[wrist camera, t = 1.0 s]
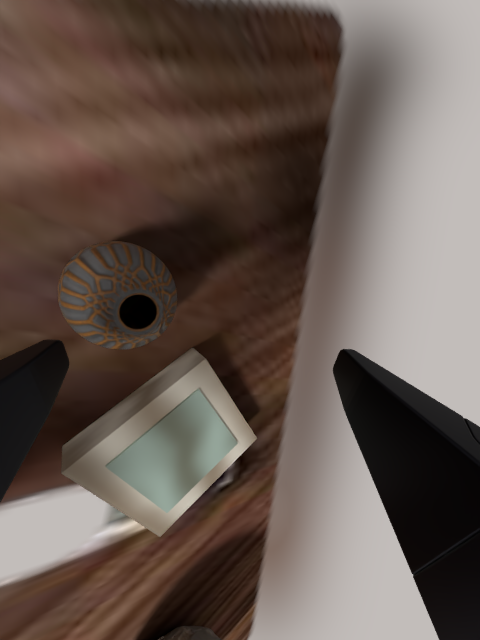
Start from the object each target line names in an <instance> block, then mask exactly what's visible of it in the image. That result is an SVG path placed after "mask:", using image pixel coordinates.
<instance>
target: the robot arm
mask: <svg viewBox="0 0 480 640" xmlns="http://www.w3.org/2000/svg"><path fill="white" fill-rule="evenodd" d="M68 368H69V359H68V356H67V353H66V350H65V347H64V344H63V342H62V341H60V340H43V341H41V342H39V343H37V344H35V345H32V346H30V347H28V348H26V349H24V350H22V351H19V352H17V353H15V354H13V355H11V356H8V357H6V358H4V359H2V360H0V502H1V500H2V499H3V497H4V495H5V493H6V491H7V489H8V488H9V486H10V484H11V482H12V480H13V479H14V477H15V475H16V473H17V471H18V470H19V468H20V466H21V464H22V462H23V461H24V459H25V457H26V455H27V453H28V451H29V450H30V448H31V446H32V444H33V442H34V441H35V439H36V437H37V435H38V433H39V432H40V430H41V428H42V426H43V424H44V423H45V421H46V419H47V417H48V415H49V413H50V411H51V409H52V406H53V404H54V402H55V399H56V397H57V394H58V392H59V390H60V387H61V385H62V382H63V380H64V378H65V375H66V373H67V370H68ZM333 374H334V377H335V380H336V384H337V387H338V390H339V394H340V397H341V401H342V404H343V407H344V410H345V413H346V416H347V418H348V421H349V423H350V425H351V428H352V430H353V433H354V435H355V438H356V440H357V443H358V445H359V447H360V450H361V452H362V454H363V457H364V459H365V462H366V464H367V466H368V469H369V471H370V474H371V476H372V478H373V481H374V483H375V486H376V488H377V490H378V493H379V495H380V498H381V500H382V503H383V505H384V507H385V510H386V512H387V515H388V517H389V519H390V522H391V524H392V526H393V529H394V532H395V534H396V536H397V539H398V541H399V543H400V546H401V548H402V551H403V553H404V556H405V558H406V560H407V563H408V565H409V567H410V570H411V572H412V574H413V578H414V580H415V582H416V585H417V587H418V590H419V592H420V594H421V597H422V599H423V602H424V604H425V606H426V609H427V611H428V614H429V616H430V618H431V621H432V623H433V625H434V628H435V631H436V633H437V635H438V638H439V640H480V427H479V426H477V425H476V424H474V423H473V422H471V421H469V420H468V419H465V418H463V417H462V416H461V415H459V414H458V413H456V412H455V411H453V410H451V409H449V408H448V407H446V406H445V405H443V404H441V403H440V402H438V401H436V400H435V399H433V398H431V397H430V396H428V395H427V394H425V393H423V392H422V391H420V390H419V389H417V388H415V387H414V386H412V385H410V384H409V383H407V382H406V381H404V380H402V379H401V378H399V377H397V376H396V375H394V374H392V373H391V372H389V371H388V370H386V369H384V368H383V367H381V366H379V365H378V364H376V363H375V362H373V361H371V360H369V359H368V358H366V357H365V356H363V355H361V354H360V353H358V352H357V351H355V350H352V349H343V350H341V351H340V352H339V354H338V357H337V360H336V361H335V364H334V367H333Z"/></svg>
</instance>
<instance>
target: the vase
mask: <svg viewBox="0 0 480 640" xmlns="http://www.w3.org/2000/svg"><path fill="white" fill-rule="evenodd" d="M58 301H59V305H60V309H61V312H62V314H63V316H64V318H65V319H66V321H67V322H68V324H69V325H70V326H71V327H72V329H73V330H74V331H75V332H77V333H78V334H79V335H80V336H81V337H83V338H84V339H86V340H88V341H90V342H91V343H94V344H96V345H99V346H102V347H105V348H110V349H132V348H137V347H140V346H143V345H145V344H148V343H150V342H151V341H153V340H155V339H156V338H157V337H159V336H160V335H161V334H162V333H163V332H164V331H165V330H166V329H167V327H168V326H169V324H170V323H171V321H172V319H173V317H174V314H175V311H176V307H177V290H176V286H175V282H174V280H173V277H172V275H171V273H170V272H169V270H168V268H167V267H166V266H165V264H164V263H163V262H162V261H161V260H160V259H159V258H158V257H157V256H156V255H154V254H153V253H152V252H150V251H148V250H147V249H145V248H143V247H141V246H138V245H135V244H132V243H128V242H122V241H107V242H101V243H97V244H94V245H91V246H89V247H87V248H85V249H83V250H81V251H80V252H78V253H77V254H76V255H75V256H74V257H73V258H72V259H71V260H70V261H69V262H68V263H67V265H66V266H65V268H64V269H63V272H62V274H61V276H60V279H59V284H58Z"/></svg>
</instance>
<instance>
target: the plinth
mask: <svg viewBox="0 0 480 640" xmlns="http://www.w3.org/2000/svg"><path fill="white" fill-rule="evenodd" d="M256 439H257V438H256V436H255V435H254V433H253V432H252V430H251V428H250V427H249V425H248V424H247V422H246V421H245V419H244V417H243V416H242V414H241V413H240V411H239V410H238V408H237V407H236V405H235V403H234V402H233V400H232V399H231V397H230V396H229V394H228V393H227V391H226V389H225V388H224V386H223V385H222V383H221V382H220V380H219V379H218V377H217V375H216V374H215V372H214V371H213V369H212V368H211V366H210V364H209V363H208V361H207V360H206V358H204V357H203V356H202V355H201V354H200V353H199V352H197V351H196V350H195V349H194V348H193V347H192V348H191V349H190V350H188V351H187V352H186V353H184V354H183V355H182V356H180V357H179V358H178V359H176V360H175V361H174V362H172V363H171V364H170V365H168V366H167V367H166V368H165V369H163V370H162V371H161V372H159V373H158V374H157V375H155V376H154V377H153V378H151V379H150V380H149V381H147V382H146V383H145V384H143V385H142V386H141V387H139V388H138V389H137V390H136V391H134V392H133V393H132V394H130V395H129V396H128V397H126V398H125V399H124V400H122V401H121V402H120V403H118V404H117V405H116V406H114V407H113V408H112V409H110V410H109V411H108V412H106V413H105V414H104V415H103V416H101V417H100V418H99V419H97V420H96V421H95V422H93V423H92V424H91V425H89V426H88V427H87V428H85V429H84V430H83V431H81V432H80V433H79V434H77V435H76V436H75V437H74V438H72V439H71V440H70V441H68V442H67V443H66V444H64V445H63V446H62V467H61V473H62V474H63V475H65V476H66V477H68V478H69V479H71V480H72V481H74V482H76V483H77V484H79V485H80V486H82V487H83V488H85V489H86V490H88V491H90V492H91V493H93V494H94V495H96V496H97V497H99V498H100V499H102V500H103V501H105V502H107V503H108V504H110V505H111V506H113V507H114V508H116V509H117V510H119V511H121V512H122V513H124V514H125V515H127V516H128V517H130V518H131V519H133V520H135V521H136V522H138V523H139V524H141V525H142V526H144V527H145V528H147V529H149V530H150V531H152V532H153V533H155V534H156V535H158V536H159V537H160V536H161V535H162V534H163V533H164V532H165V531H166V530H167V529H168V528H169V527H170V526H171V525H172V524H173V523H174V522H175V521H176V520H177V519H178V518H179V517H180V516H181V515H182V514H183V513H184V512H185V511H186V510H187V509H188V508H189V507H190V506H191V505H192V504H193V503H194V502H195V501H196V500H197V499H198V498H199V497H200V496H201V495H202V494H203V493H204V492H205V491H206V490H207V489H208V488H209V487H210V486H211V485H212V484H213V483H214V482H215V481H216V480H217V479H218V478H219V477H220V476H221V475H222V473H223V472H224V471H225V470H226V469H227V468H228V467H229V466H230V465H231V464H232V463H233V462H234V461H235V460H236V459H237V458H238V457H239V456H240V455H241V454H242V453H243V452H244V451H245V450H246V449H247V448H248V447H249V446H250V445H251V444H252V443H253V442H254V441H255V440H256Z"/></svg>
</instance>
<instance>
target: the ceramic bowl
mask: <svg viewBox="0 0 480 640" xmlns="http://www.w3.org/2000/svg"><path fill="white" fill-rule="evenodd" d="M158 640H221V639H220V638H219V637H218V636H217V635H215V634H214V632H213V631H212V630H211V629H210V628H207V627H202V626H181V627H177V628H175V629H174V630H172V631H171V632H170V633H168V634H167V635H165V636H161V637H160V638H159V639H158Z"/></svg>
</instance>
